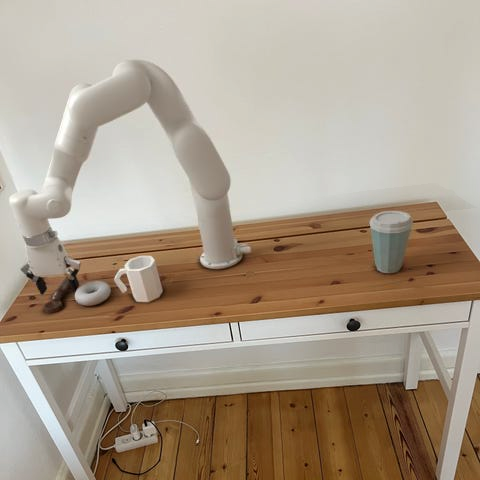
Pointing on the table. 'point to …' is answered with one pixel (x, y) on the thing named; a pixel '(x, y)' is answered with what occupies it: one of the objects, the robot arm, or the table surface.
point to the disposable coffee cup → (390, 239)
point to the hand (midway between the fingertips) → (60, 290)
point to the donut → (92, 293)
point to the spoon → (57, 297)
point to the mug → (141, 278)
